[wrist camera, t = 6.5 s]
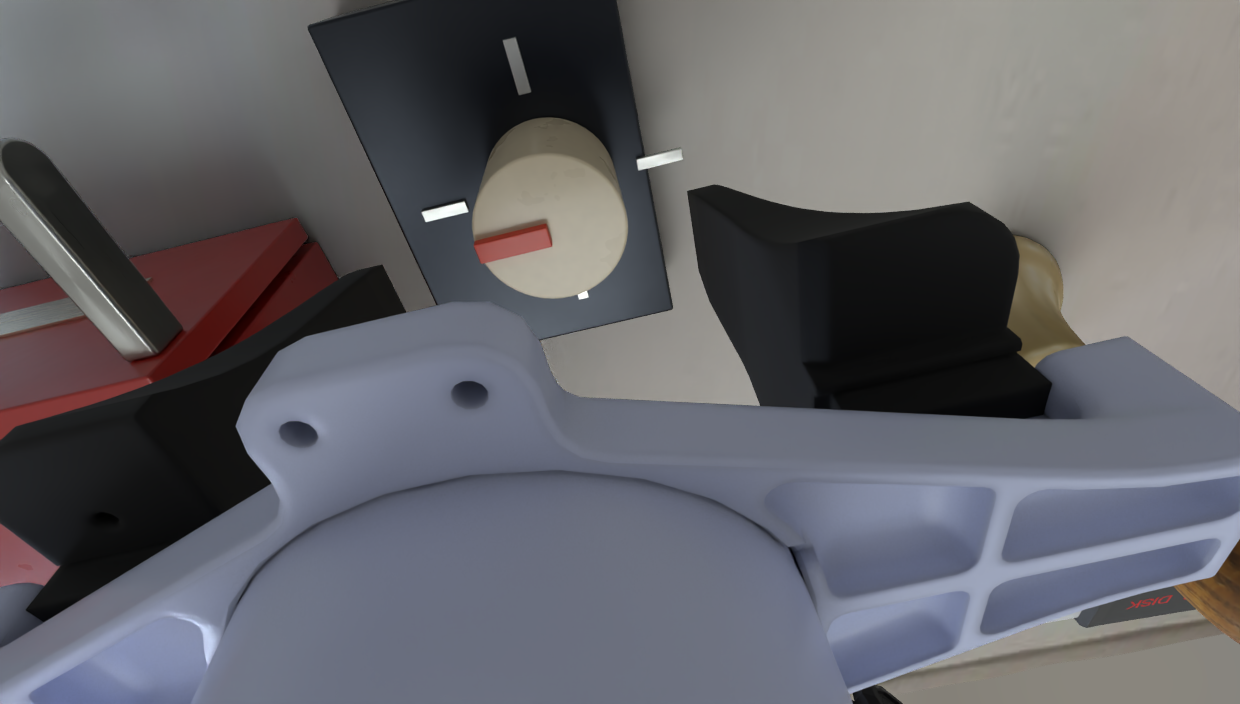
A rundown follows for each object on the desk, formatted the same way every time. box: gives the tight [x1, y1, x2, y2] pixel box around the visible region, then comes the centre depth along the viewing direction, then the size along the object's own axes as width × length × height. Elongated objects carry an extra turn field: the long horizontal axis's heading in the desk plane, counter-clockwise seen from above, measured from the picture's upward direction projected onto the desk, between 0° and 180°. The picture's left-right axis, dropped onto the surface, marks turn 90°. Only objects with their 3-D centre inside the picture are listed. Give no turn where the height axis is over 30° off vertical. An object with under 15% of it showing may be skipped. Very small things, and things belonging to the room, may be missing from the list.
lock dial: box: [472, 117, 628, 299], centre depth 16 cm, size 4×4×4 cm
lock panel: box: [308, 0, 683, 340], centre depth 19 cm, size 11×9×3 cm
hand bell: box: [1007, 235, 1240, 644], centre depth 19 cm, size 8×8×16 cm
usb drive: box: [1049, 586, 1195, 628], centre depth 38 cm, size 5×12×3 cm, turn 97°
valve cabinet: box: [0, 242, 338, 587], centre depth 20 cm, size 8×13×10 cm, turn 102°
